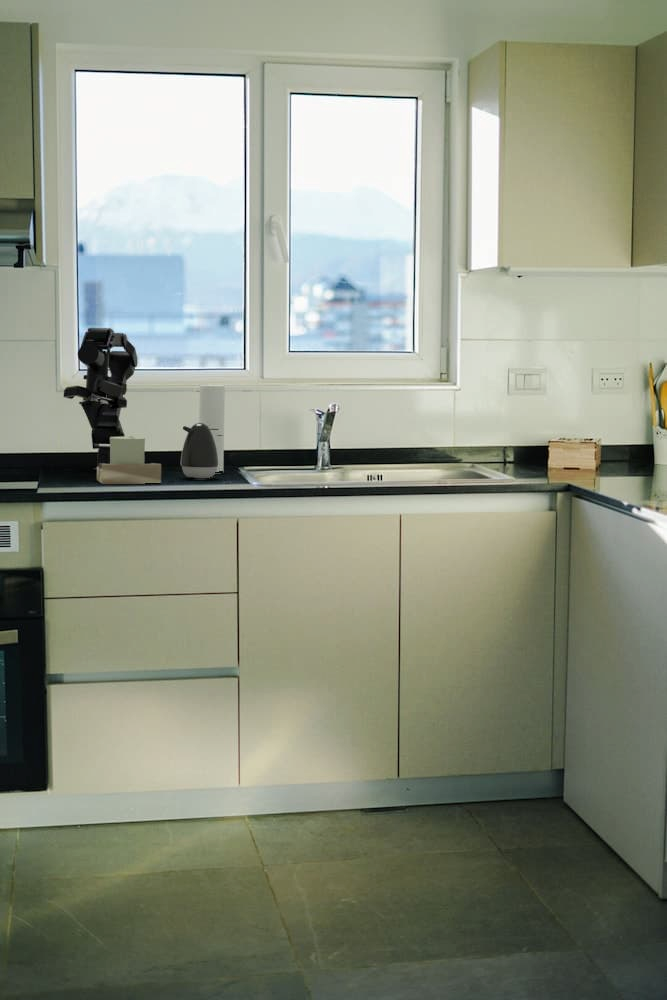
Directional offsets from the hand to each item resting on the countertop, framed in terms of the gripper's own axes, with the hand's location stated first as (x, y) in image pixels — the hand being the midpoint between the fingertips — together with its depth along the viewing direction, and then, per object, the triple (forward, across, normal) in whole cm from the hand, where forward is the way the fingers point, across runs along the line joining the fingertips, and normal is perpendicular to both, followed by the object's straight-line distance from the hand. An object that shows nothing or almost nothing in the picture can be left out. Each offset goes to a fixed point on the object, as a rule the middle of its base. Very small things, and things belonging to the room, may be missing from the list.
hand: (93, 428), depth 334 cm
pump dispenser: (+13, +18, -24) cm, 32 cm away
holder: (+16, -3, -18) cm, 24 cm away
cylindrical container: (+8, +35, -13) cm, 38 cm away
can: (+16, -3, -17) cm, 24 cm away
